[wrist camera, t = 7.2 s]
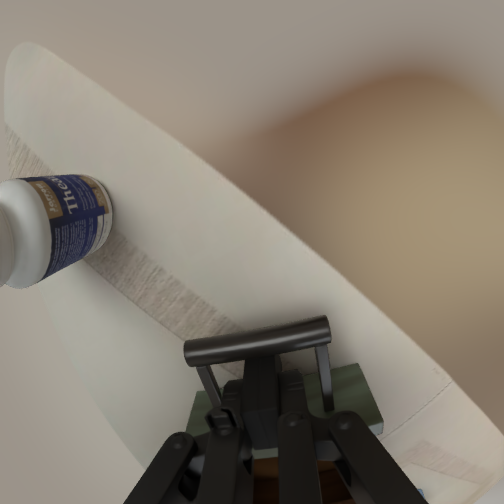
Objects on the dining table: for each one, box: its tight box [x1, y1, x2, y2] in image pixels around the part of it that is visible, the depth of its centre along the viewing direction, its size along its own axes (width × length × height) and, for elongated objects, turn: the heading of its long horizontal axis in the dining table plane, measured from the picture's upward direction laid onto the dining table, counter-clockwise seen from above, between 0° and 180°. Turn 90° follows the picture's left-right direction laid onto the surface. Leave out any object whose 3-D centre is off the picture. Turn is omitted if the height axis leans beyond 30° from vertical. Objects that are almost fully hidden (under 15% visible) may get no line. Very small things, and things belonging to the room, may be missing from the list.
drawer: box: [184, 315, 384, 504], centre depth 16 cm, size 19×11×6 cm, turn 13°
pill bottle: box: [0, 174, 113, 288], centre depth 12 cm, size 5×5×10 cm
